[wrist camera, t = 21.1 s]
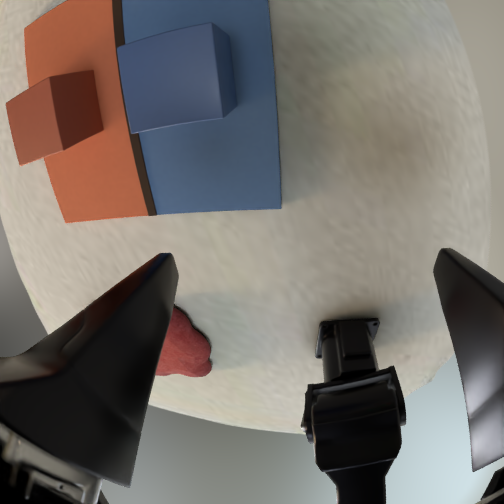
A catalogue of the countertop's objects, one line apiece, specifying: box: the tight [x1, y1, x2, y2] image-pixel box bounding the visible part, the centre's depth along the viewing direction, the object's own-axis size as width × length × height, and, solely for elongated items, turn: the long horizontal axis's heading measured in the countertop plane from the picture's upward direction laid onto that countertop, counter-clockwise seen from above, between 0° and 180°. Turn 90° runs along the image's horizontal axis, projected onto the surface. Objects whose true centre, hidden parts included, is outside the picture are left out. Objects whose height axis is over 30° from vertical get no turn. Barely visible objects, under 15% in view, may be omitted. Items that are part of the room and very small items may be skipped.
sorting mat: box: [24, 0, 281, 223], centre depth 16 cm, size 20×20×1 cm
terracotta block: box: [6, 70, 104, 166], centre depth 14 cm, size 5×5×5 cm
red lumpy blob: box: [155, 307, 212, 377], centre depth 32 cm, size 18×14×2 cm
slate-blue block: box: [117, 22, 237, 134], centre depth 13 cm, size 5×5×5 cm
